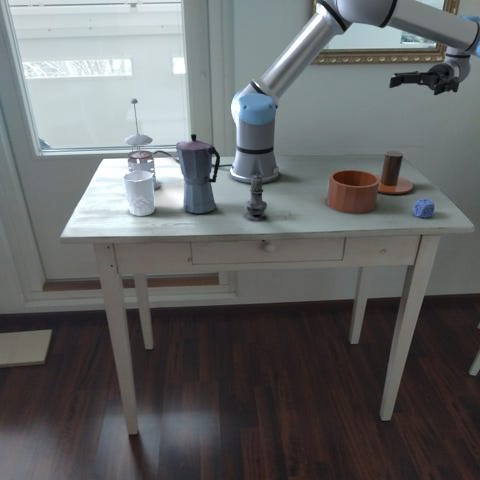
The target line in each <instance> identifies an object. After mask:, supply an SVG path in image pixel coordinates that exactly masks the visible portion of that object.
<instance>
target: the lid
mask: <svg viewBox="0 0 480 480" xmlns="http://www.w3.org/2000/svg"><path fill="white" fill-rule="evenodd" d="M403 159H404V153H403V152H401V151H397V150H388V151H385V153H384V158H383V163H382V168H381V174H375V175H376V176H377V177H378V178H379V179H380V182H379V188H378V193H382V194H388V195H400V194H405V193H410V192H411V191H412V190H413V189H414V184H413V182H411V180H409V179H407V178H404V177H403V176H400V174H401V167H402V163H403Z"/></svg>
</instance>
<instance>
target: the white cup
mask: <svg viewBox="0 0 480 480" xmlns="http://www.w3.org/2000/svg"><path fill="white" fill-rule="evenodd" d="M153 174H154V173H151V172H148V171H132V172H130V171H128V172H126V173H125V174H123V175H122V179H123V185H124V191H125V195H126V200H127V203H128V209H129V213H130V215H133V216H138V217H143V216H145V217H146V216H148V215H151V214H153V213H154V212H155V210H156V209H155V190H154V183H153Z"/></svg>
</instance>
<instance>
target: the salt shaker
mask: <svg viewBox="0 0 480 480" xmlns="http://www.w3.org/2000/svg"><path fill="white" fill-rule="evenodd" d="M250 185H251V186H250V189H249V192H250V199H249V200H248V201H246V202H245V207H246V208H245V209H246V210H247V212H248V213H247V214H246V215H245V218H246V219H247V220H248V221H253V222H259V221H260V222H261V221H263V220H265V219H266V214H264V212H266V208H267V207H268V204H267V202H266V201H264V200H263V193H264V189H263V183H262V178H261V177H259V176H258V174H256V176H255V177H253V178H252V180H251V184H250Z"/></svg>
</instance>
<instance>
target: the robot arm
mask: <svg viewBox="0 0 480 480" xmlns="http://www.w3.org/2000/svg"><path fill="white" fill-rule="evenodd" d="M315 9H316V10H315V13H314V14H313V15H312V17H311V18H310V19H309V20H308V21H307V23H306V24H304V26H303V27H302V29H300V31H299V32H298V33H297V34H296V36H294V38H293V39H292V41H290V42H289V44H288V45H287V47H285V49H283V51H281V53H280V55H279V56H278V57H277V58H276V59H275V60H274V62H273V63H271V65H270V66H269V67H268V69H267V70H266V71H265V72H264V74H263V75H262V76H261V77H259V78H253V79H252V80H251V81H250V82H249V83H248V85H246V87H244V88H242V89H241V90H239V91H238V92H237V93H236V94H235V95H234V97H233V98H232V101H231V105H230V112H231V117H232V120H233V121H234V124H235V126H236V152H235V156H234V158H233V161H232V163H225V164H220V165H219V168H225V167H231V168H230V177H231V178H232V179H233V180H235V181H237V182H240V183H242V184H243V183H244V184H249V185H251V180H252V178H253V177H255V176H256V174H258V176H259V177H261V178H262V184H267V183H271V182H273V181H275V180H277V179H278V177H279V166H278V165H277V161H276V156H275V152H274V150H275V131H276V128H275V127H276V115H277V109H278V108H279V107H280V99H281V97H282V96H283V95H284V94H285V93H286V92H287V91H288V90H289V89H290V87H291V86H292V85H293V84H294V83H295V81H296V80H298V78H299V77H300V76H301V75H302V74H303V73H304V71H305V70H306V69H307V68H308V67H309V66H310V65H311V63H312V62H314V60H316V58H317V57H318V56H319V55H320V53H321V52H322V51H323V50H324V49H325V47H327V45H328V44H329V43H330V42H331V41H332V40H333V39H334V38H335V37H336V36H342V35H344V34H345V33H346V32H347V31H348V29H349V28H350V27H351V26H352V25H353V24H362V25H368V26H374V27H377V28H380V29H385V28H386V27H390V28H394V29H395V30H399V31H401V32H405V33H407V34H411V35H414V36H416V37H419V38H423V39H424V40H428V41H431V42H434V43H436V44H439V45H442V46H446V47H447V48H446V52H445V56H444V60H443V61H442V62H441V63H437V64H434V65H432V66H431V67H430V68H428V70H427V71H418V70H415V71H408V72H407V71H406V72H394V73H393V74H392V77H390V80H389V86H388V88H389V89H393V88H397V87H400V86H402V85H410V84H411V85H413V84H415V85H417V86H425V87H427V88H428V89H430V90H431V91H433V96H438V95H441V94H443V93H445V92H447V93H450V92H451V91H452V93H455V94H456V93H458V91H459V86H460V83H462V82H464V81H465V80H466V79H467V78H468V77H469V75H470V73H471V69H472V65H471V62H470V59H471V56H473V57H477V58H479V59H480V17H479V15H473V14H472V15H469V14H460V15H458V14H457V15H456V14H454V13H451V12H449V11H445V10H443V9H440V8H437V7H435V6H432V5H430V4H427V3H424V2H421V1H419V0H319V1H317V3H316V7H315ZM159 153H162V154H163V155H166V156H168V157H171V158H173V159H174V160H175V161H176V162H178V163H179V158H178V157H176V155H174V154H171V153H169V152H167V151H165V150H160V149H159V150H158V149H157V150H155V151H154V152H152V155H156V154H159ZM212 167H214V168H215V163H212Z"/></svg>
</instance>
